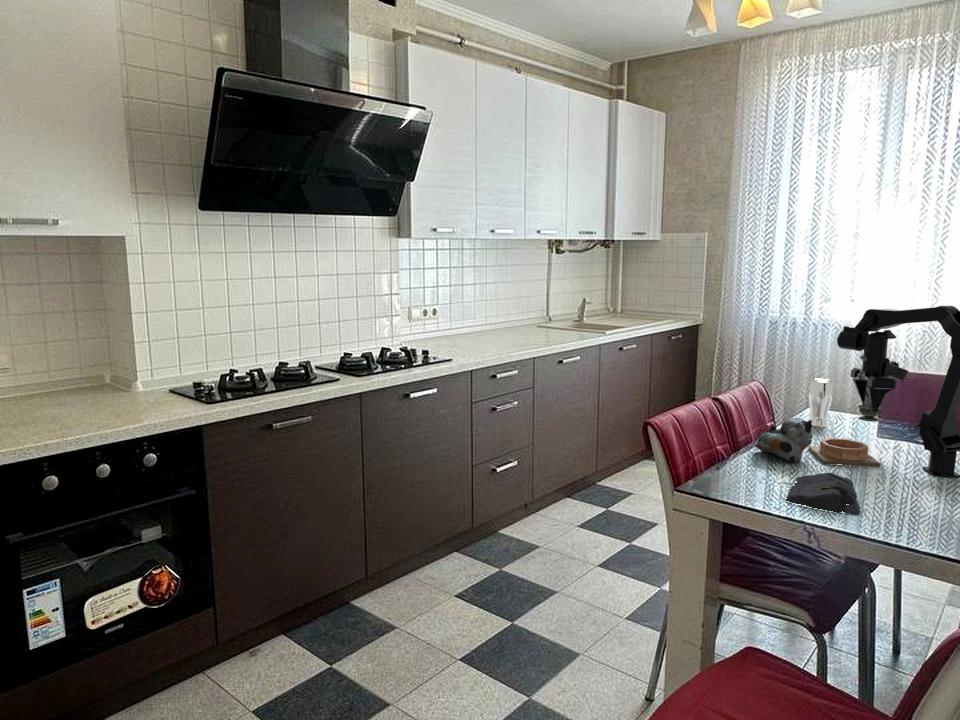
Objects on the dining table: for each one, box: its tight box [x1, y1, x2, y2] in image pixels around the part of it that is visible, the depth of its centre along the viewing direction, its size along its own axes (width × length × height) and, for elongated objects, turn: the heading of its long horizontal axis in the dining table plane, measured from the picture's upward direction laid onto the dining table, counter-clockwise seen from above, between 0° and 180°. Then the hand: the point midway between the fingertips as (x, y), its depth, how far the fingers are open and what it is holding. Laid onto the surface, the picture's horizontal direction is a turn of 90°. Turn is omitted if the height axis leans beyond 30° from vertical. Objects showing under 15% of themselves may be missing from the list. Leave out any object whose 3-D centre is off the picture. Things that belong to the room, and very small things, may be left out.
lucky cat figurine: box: [754, 417, 814, 464], centre depth 193 cm, size 15×12×14 cm
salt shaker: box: [857, 383, 883, 423], centre depth 199 cm, size 6×6×12 cm
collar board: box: [808, 437, 881, 468], centre depth 194 cm, size 14×14×4 cm
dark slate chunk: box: [785, 472, 861, 515], centre depth 164 cm, size 15×22×5 cm
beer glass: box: [808, 378, 834, 428], centre depth 229 cm, size 7×7×15 cm
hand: (869, 407), depth 199 cm, fingers closed on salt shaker, 8 cm apart
